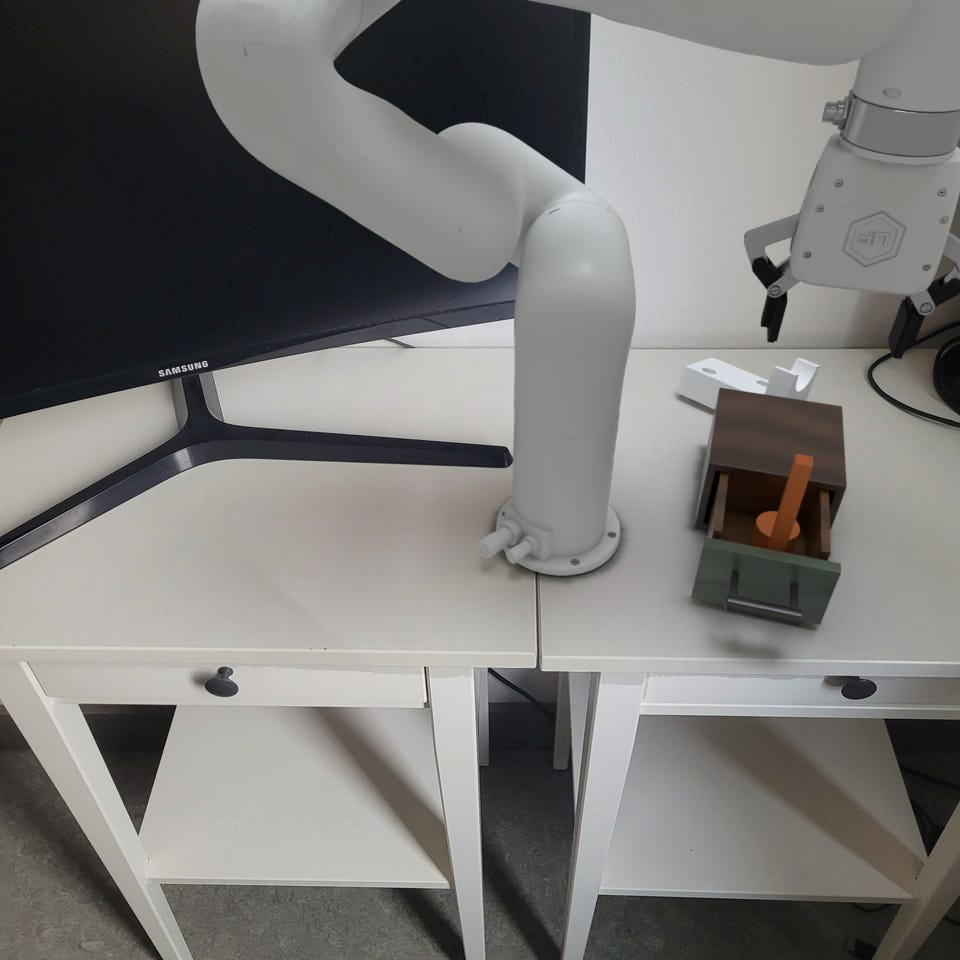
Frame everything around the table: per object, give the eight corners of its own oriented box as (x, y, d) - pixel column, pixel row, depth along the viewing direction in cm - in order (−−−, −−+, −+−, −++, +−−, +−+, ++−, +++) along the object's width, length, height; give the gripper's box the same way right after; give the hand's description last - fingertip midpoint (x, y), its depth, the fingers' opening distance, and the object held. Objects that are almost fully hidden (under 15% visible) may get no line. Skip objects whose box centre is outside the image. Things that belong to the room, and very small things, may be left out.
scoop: (792, 576, 76) (829, 469, 68) (748, 567, 77) (779, 460, 69) (792, 537, 80) (828, 431, 72) (750, 529, 81) (781, 424, 72)
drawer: (820, 665, 70) (843, 613, 65) (685, 635, 72) (698, 583, 68) (818, 532, 82) (837, 480, 78) (703, 510, 85) (714, 459, 80)
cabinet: (822, 552, 81) (847, 486, 76) (694, 527, 84) (708, 462, 79) (820, 469, 91) (842, 405, 86) (706, 449, 94) (719, 387, 88)
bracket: (796, 423, 99) (820, 365, 96) (772, 435, 94) (795, 375, 91) (704, 382, 106) (722, 327, 103) (677, 392, 101) (695, 335, 98)
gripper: (771, 131, 55) (722, 351, 66) (1054, 154, 52) (953, 381, 63) (770, 100, 61) (725, 308, 72) (1026, 119, 57) (937, 333, 68)
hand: (831, 342), depth 67 cm, fingers open, 9 cm apart
